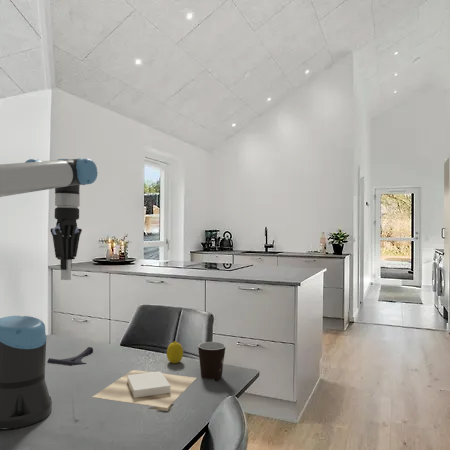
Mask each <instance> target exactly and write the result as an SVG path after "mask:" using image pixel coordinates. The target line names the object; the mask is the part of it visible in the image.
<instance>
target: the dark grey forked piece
mask: <svg viewBox="0 0 450 450" xmlns="http://www.w3.org/2000/svg"><path fill="white" fill-rule="evenodd" d="M93 352H94V349H93V347H91V346H88V347H86V349H84V351H82V352H80V354H78V355H76V356H72V357H69V358H62V359H61V358H60V359H58V358H52V357H51V358H48V360H47V363H51V364H59V365H67V366H80V365H87V363H86V362H83V361H82V359H83V358H84V357H86V356H87V355H90V354H92V353H93Z"/></svg>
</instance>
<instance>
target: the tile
mask: <svg viewBox="0 0 450 450" xmlns="http://www.w3.org/2000/svg"><path fill="white" fill-rule="evenodd" d="M149 372H150V373H142V374H133V375H127V383H128V385H129V387H130V390H131V392H132V395H133V397H134V398H137V397H144V396H151V395H159V394H166V393H170V388H171V386H170V384H169V383H168V381H167V380H166V378H165V377H164V375H163V374H164V373H162V371H161V370H160V371H149Z"/></svg>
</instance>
